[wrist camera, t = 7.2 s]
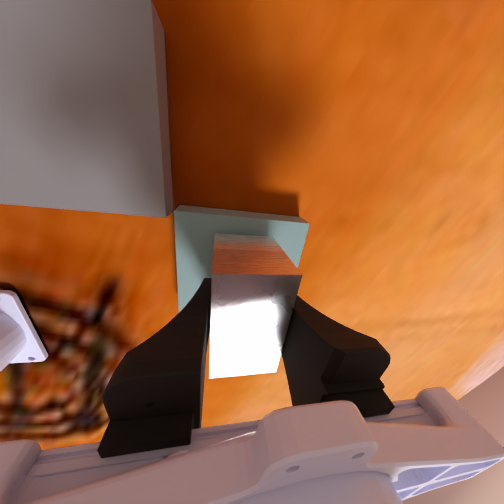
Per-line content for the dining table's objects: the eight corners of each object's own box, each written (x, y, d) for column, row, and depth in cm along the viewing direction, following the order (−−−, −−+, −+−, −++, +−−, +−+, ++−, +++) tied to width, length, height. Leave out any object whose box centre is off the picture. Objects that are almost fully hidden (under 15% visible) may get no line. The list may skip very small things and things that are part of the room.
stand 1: (14, 195, 11) (-24, 201, 10) (-82, -40, 7) (-177, -104, 6) (173, 210, 13) (165, 217, 11) (164, 29, 9) (150, -3, 8)
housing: (212, 314, 15) (209, 378, 10) (214, 233, 12) (211, 274, 7) (259, 312, 15) (275, 371, 11) (272, 236, 12) (302, 274, 8)
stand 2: (183, 304, 17) (179, 320, 15) (180, 204, 13) (173, 210, 11) (277, 304, 19) (283, 318, 17) (299, 216, 15) (309, 223, 13)
